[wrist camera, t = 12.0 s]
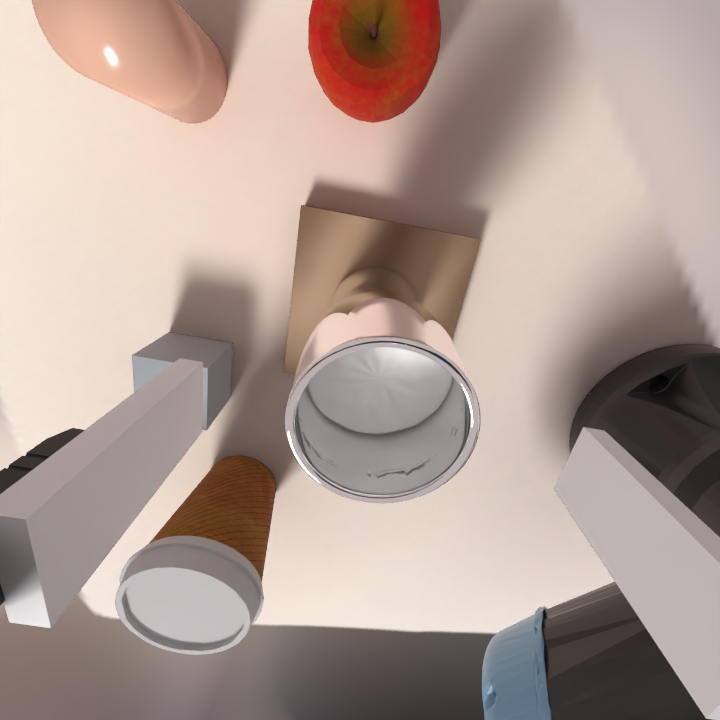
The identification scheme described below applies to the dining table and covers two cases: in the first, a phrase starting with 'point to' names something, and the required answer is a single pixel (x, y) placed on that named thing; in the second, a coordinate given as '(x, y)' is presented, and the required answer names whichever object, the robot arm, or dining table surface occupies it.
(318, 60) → the apple
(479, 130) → the dining table surface
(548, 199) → the dining table surface
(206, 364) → the slate block
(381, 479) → the steel tumbler
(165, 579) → the disposable coffee cup
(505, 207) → the dining table surface
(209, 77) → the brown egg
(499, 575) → the dining table surface
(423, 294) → the walnut board
